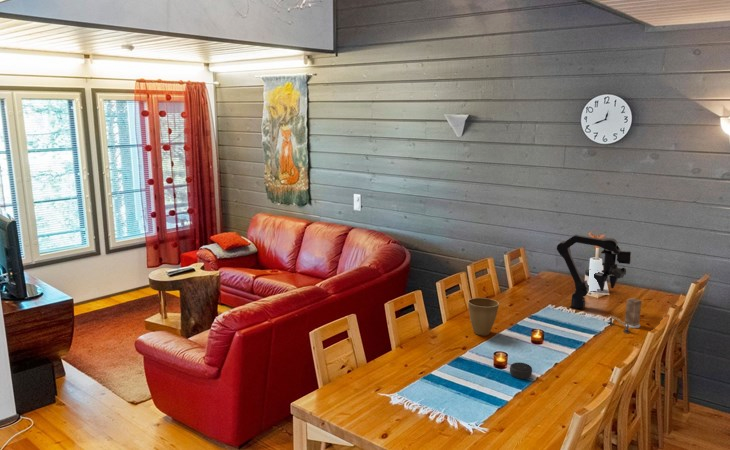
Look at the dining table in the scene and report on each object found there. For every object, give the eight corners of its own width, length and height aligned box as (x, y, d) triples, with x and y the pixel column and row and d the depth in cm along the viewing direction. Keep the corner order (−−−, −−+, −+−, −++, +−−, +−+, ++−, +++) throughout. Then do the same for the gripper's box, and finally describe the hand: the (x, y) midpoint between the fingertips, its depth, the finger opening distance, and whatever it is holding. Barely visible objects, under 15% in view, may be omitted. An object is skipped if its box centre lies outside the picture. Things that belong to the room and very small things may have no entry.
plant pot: (497, 339, 285) (499, 307, 282) (466, 337, 287) (467, 305, 284) (497, 328, 299) (498, 298, 296) (467, 326, 302) (468, 296, 299)
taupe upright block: (624, 323, 307) (626, 299, 304) (630, 321, 309) (632, 297, 307) (633, 326, 302) (635, 302, 300) (639, 324, 305) (641, 300, 303)
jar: (600, 290, 367) (602, 271, 365) (593, 292, 362) (595, 273, 360) (587, 286, 374) (589, 268, 372) (580, 289, 369) (582, 270, 367)
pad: (620, 325, 306) (620, 323, 306) (626, 321, 312) (626, 320, 311) (636, 329, 300) (636, 327, 300) (642, 325, 306) (642, 324, 306)
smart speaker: (515, 368, 253) (515, 360, 252) (535, 374, 247) (535, 365, 247) (506, 375, 246) (506, 366, 245) (526, 381, 240) (526, 372, 240)
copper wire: (606, 323, 308) (607, 315, 307) (611, 323, 309) (612, 314, 308) (625, 333, 295) (626, 324, 294) (631, 332, 296) (631, 324, 295)
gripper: (612, 267, 309) (610, 296, 312) (633, 262, 319) (630, 290, 322) (594, 262, 318) (591, 290, 321) (614, 258, 328) (612, 285, 331)
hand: (607, 289), depth 324 cm, fingers open, 9 cm apart
